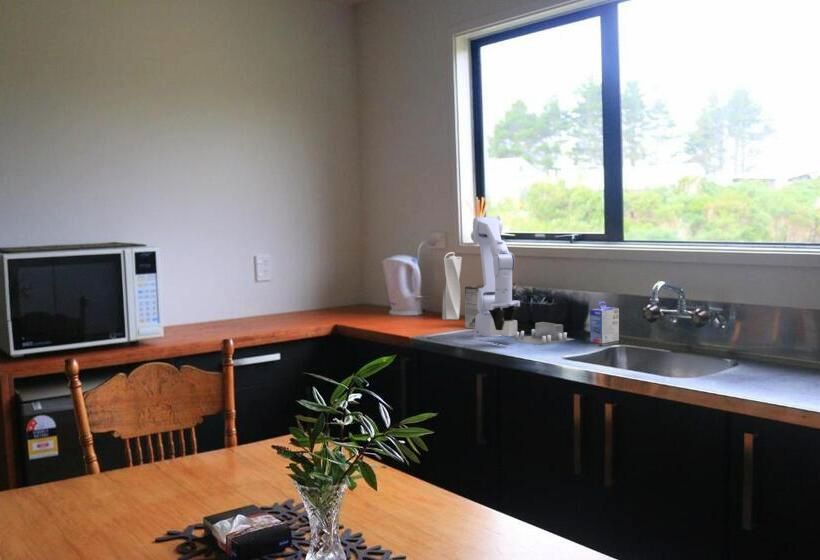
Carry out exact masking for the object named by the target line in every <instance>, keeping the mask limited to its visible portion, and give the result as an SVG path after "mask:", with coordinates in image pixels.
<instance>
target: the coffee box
mask: <svg viewBox="0 0 820 560" xmlns="http://www.w3.org/2000/svg"><path fill="white" fill-rule="evenodd" d="M483 287H484V284H475V285H469V286H465V287H464V290H465V291H464V294H465V295H464V296H465V297H464V305H465V306H464V308H465V309H464V314H465V315H464V328H465V329H471V330H473V329H474V330H475V318H476V316H477V314H478V313H480V312H479V310H478V308H477V294H478V291H479V290H480V289H481V288H483Z"/></svg>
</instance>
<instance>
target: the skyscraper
mask: <svg viewBox="0 0 820 560" xmlns="http://www.w3.org/2000/svg"><path fill="white" fill-rule="evenodd" d="M450 254H453V255H452V256H448V255H450ZM455 254H456V253H455V252H454V251H451V252H448V253H446V254H445V256H444V258H443V261H444V272H445V278H446V283H445V291H444V293H443V294H442V304H441V305H442V307H441V308H442V309H441V320H442V321H459V319H460V313H461V285H460V284H461V283H460V277H461V269H462V260H463V259H462V257H461V256H456V255H455ZM447 256H448V257H447Z"/></svg>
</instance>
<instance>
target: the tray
mask: <svg viewBox="0 0 820 560" xmlns="http://www.w3.org/2000/svg"><path fill="white" fill-rule="evenodd" d="M567 335H568V332H564V331H563V339H562V333H558V340H551V335H547V339H546V336H542V338H537V337H535V328H532V329H531V335H528V336H525V331H524V330H521V331H520V332H519V331H517V335H515V338H510V339H507V340H508V341H513V342H517V343H518V342H520V343H525V344H532V345H537V346H546V345H552V344H557V343H562V342H567V341H575V340H576V339H575V338H570V337H567Z"/></svg>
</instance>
